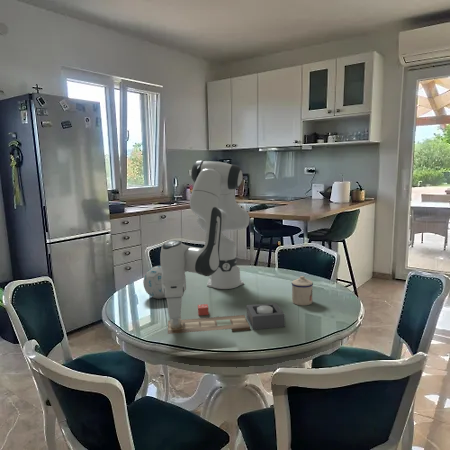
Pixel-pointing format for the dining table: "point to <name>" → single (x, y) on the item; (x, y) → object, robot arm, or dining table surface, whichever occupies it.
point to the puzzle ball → (154, 282)
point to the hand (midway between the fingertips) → (175, 321)
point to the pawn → (175, 325)
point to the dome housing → (265, 317)
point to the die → (203, 309)
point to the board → (211, 324)
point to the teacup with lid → (302, 291)
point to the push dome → (264, 309)
